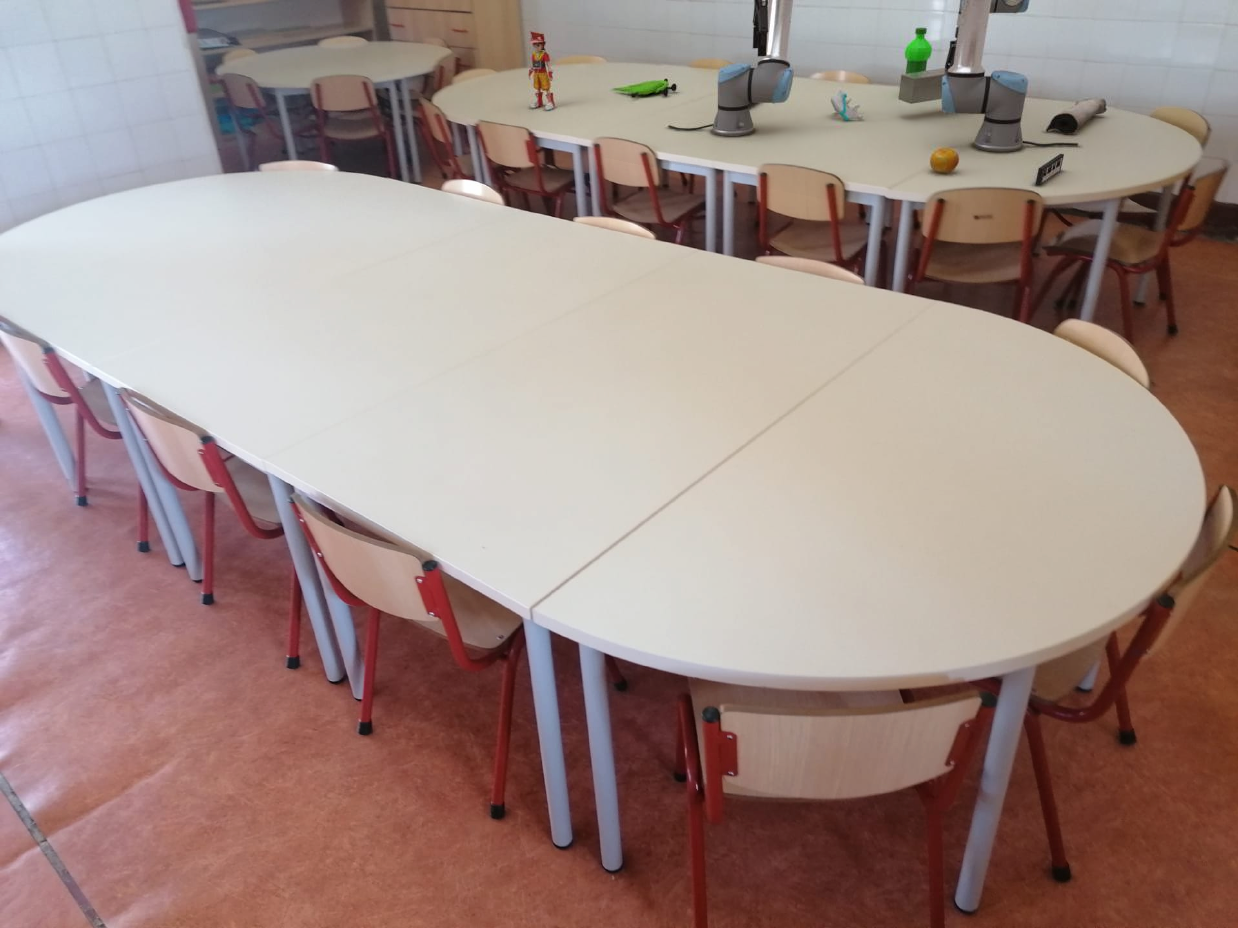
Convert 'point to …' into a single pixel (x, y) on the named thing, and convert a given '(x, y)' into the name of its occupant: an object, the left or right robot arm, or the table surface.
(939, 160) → the fruit
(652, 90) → the toy
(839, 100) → the anatomical model
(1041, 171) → the midi keyboard
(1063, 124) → the rolled mat
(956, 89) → the right robot arm
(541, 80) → the toy
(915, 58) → the plastic bottle
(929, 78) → the box
